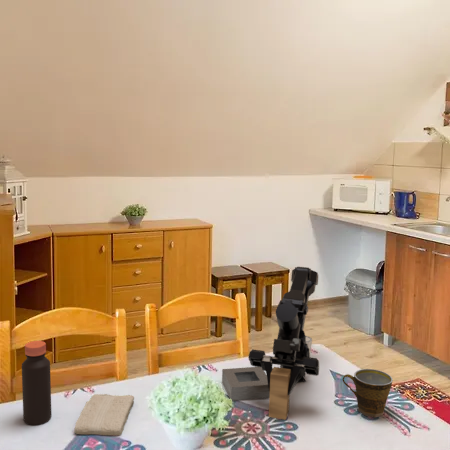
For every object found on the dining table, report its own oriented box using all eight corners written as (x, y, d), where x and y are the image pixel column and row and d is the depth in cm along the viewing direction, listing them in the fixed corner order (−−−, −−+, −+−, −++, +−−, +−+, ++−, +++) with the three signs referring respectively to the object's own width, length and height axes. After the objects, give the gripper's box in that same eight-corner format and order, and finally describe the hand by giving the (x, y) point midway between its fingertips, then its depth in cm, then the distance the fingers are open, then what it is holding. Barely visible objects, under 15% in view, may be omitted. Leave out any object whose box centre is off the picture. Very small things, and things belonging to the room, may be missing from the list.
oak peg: (272, 408, 141) (273, 366, 139) (288, 411, 140) (290, 369, 138) (268, 416, 137) (270, 373, 135) (285, 419, 136) (288, 376, 134)
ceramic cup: (390, 406, 144) (393, 372, 143) (389, 424, 135) (392, 387, 133) (342, 397, 149) (345, 364, 147) (338, 414, 139) (340, 379, 138)
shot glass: (310, 363, 171) (311, 343, 170) (289, 361, 173) (290, 341, 172) (311, 355, 178) (312, 335, 177) (291, 353, 179) (292, 333, 178)
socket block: (260, 378, 159) (260, 366, 158) (272, 397, 147) (272, 384, 147) (222, 381, 156) (222, 369, 156) (231, 400, 145) (231, 387, 144)
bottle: (25, 428, 128) (22, 351, 125) (21, 415, 134) (19, 341, 131) (53, 422, 131) (51, 347, 128) (49, 409, 137) (47, 337, 134)
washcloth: (135, 402, 144) (135, 391, 143) (122, 438, 126) (122, 426, 125) (92, 400, 144) (92, 390, 143) (73, 437, 126) (73, 425, 125)
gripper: (251, 321, 141) (239, 376, 132) (320, 329, 136) (313, 387, 127) (256, 338, 150) (246, 391, 141) (322, 347, 145) (315, 402, 136)
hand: (278, 393), depth 136 cm, fingers closed on oak peg, 5 cm apart
